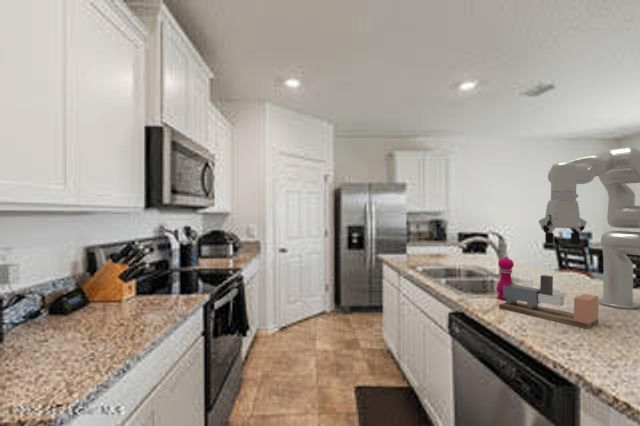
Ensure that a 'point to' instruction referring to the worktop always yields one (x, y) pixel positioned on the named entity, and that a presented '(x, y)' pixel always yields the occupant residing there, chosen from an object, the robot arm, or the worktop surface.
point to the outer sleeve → (521, 295)
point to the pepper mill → (504, 275)
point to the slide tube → (548, 292)
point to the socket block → (585, 308)
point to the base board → (547, 314)
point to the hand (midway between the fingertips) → (562, 243)
